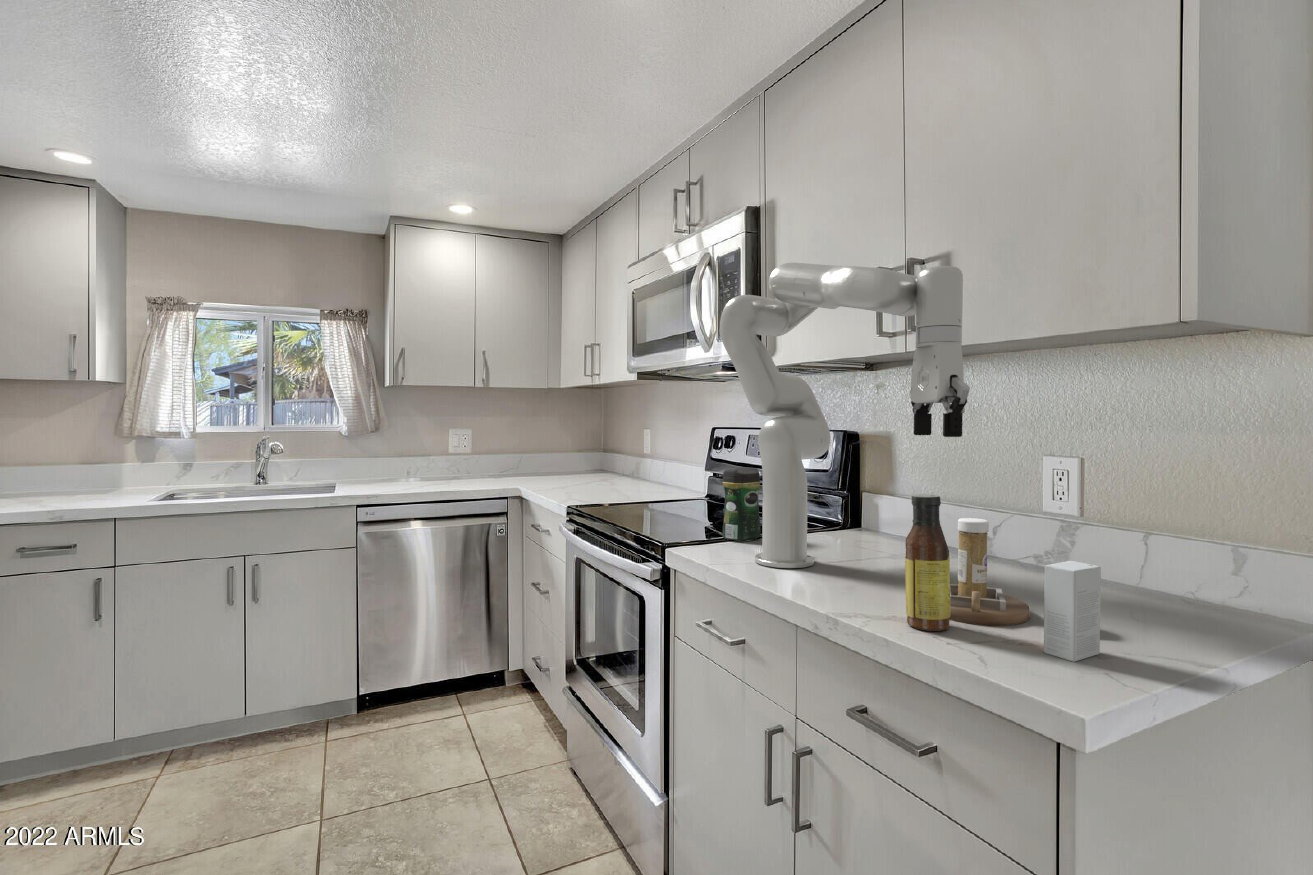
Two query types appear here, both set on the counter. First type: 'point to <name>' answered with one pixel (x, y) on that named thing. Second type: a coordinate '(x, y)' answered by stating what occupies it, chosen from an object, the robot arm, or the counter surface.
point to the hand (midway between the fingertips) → (936, 435)
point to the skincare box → (1072, 610)
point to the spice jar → (972, 556)
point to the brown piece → (987, 608)
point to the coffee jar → (741, 504)
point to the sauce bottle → (927, 567)
